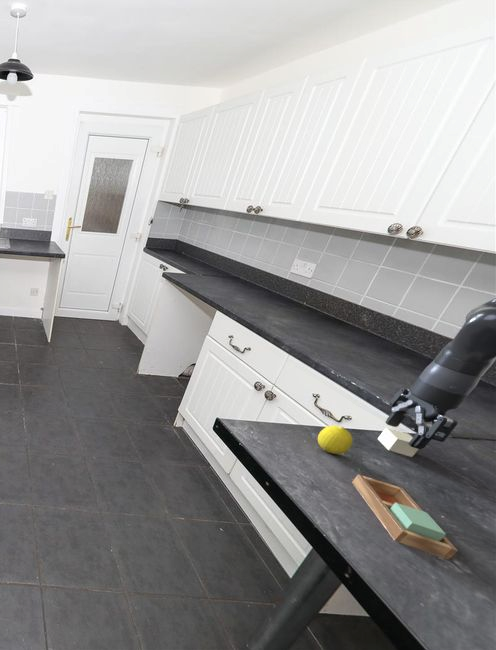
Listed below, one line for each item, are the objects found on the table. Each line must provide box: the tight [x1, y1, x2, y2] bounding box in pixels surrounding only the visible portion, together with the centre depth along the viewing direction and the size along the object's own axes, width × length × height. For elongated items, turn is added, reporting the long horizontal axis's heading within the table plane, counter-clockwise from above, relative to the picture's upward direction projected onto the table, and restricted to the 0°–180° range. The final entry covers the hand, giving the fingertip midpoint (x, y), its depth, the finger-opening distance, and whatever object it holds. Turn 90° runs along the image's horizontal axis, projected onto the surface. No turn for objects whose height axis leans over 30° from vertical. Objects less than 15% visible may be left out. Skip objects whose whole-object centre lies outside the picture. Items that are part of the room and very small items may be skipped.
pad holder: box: [351, 473, 459, 561], centre depth 66 cm, size 7×14×3 cm, turn 157°
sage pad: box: [389, 503, 447, 541], centre depth 63 cm, size 5×5×4 cm
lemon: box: [317, 425, 354, 455], centre depth 81 cm, size 6×6×8 cm
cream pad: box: [377, 427, 419, 458], centre depth 86 cm, size 5×5×4 cm
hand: (401, 435), depth 85 cm, fingers open, 8 cm apart
